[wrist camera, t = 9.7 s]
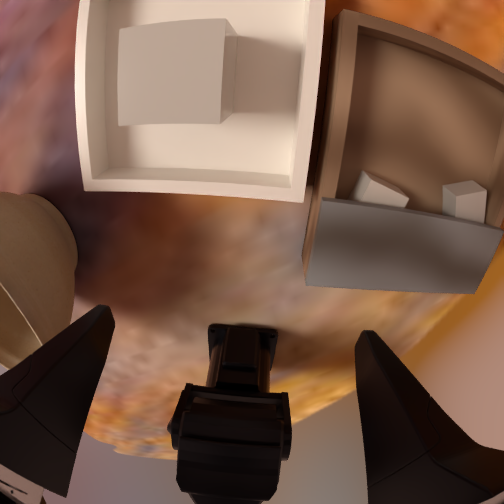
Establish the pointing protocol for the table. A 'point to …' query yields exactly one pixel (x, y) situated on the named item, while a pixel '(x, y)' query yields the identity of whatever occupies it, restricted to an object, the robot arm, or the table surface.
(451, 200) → the small grey block
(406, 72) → the grey shallow tray
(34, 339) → the planter bowl
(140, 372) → the table surface
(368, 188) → the light grey short block
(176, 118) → the light grey cube
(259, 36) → the pale tray
